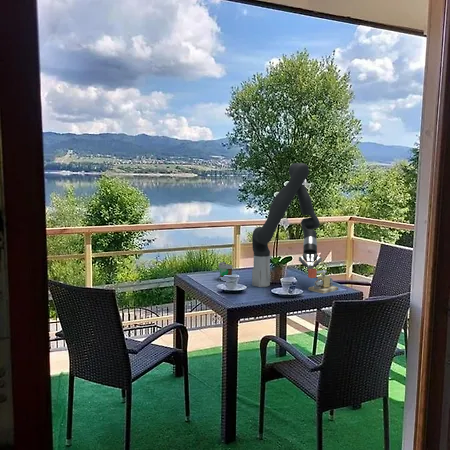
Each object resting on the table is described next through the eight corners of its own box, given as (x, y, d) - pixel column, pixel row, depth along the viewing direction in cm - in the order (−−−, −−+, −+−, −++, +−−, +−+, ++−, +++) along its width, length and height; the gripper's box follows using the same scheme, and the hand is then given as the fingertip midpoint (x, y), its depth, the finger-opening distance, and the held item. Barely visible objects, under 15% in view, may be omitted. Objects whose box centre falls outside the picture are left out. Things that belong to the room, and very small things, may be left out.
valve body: (319, 289, 255) (319, 278, 255) (313, 288, 259) (313, 277, 258) (333, 286, 263) (333, 275, 262) (327, 284, 266) (327, 274, 266)
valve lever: (323, 275, 262) (323, 266, 262) (327, 276, 260) (327, 267, 259) (307, 277, 256) (308, 269, 255) (311, 278, 253) (312, 269, 253)
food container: (215, 278, 290) (215, 262, 289) (225, 277, 292) (225, 261, 291) (222, 282, 278) (222, 265, 277) (232, 281, 280) (232, 265, 279)
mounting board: (323, 293, 253) (323, 290, 253) (308, 290, 261) (308, 287, 260) (338, 289, 261) (338, 287, 261) (323, 286, 269) (323, 283, 269)
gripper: (298, 242, 266) (297, 268, 255) (322, 242, 264) (322, 269, 253) (298, 250, 272) (297, 276, 261) (321, 250, 270) (322, 276, 259)
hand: (310, 272), depth 257 cm, fingers closed
